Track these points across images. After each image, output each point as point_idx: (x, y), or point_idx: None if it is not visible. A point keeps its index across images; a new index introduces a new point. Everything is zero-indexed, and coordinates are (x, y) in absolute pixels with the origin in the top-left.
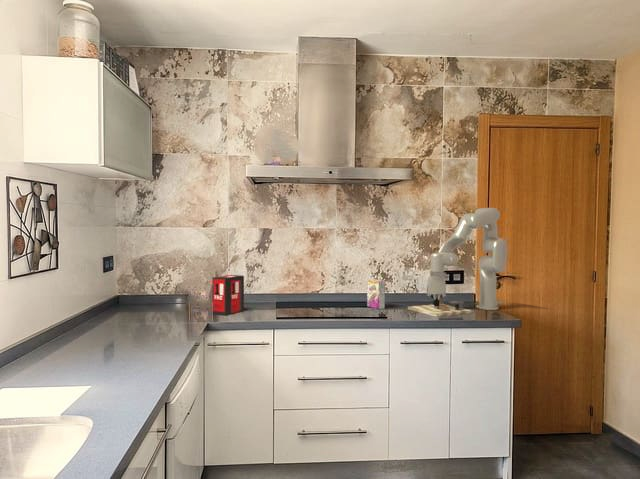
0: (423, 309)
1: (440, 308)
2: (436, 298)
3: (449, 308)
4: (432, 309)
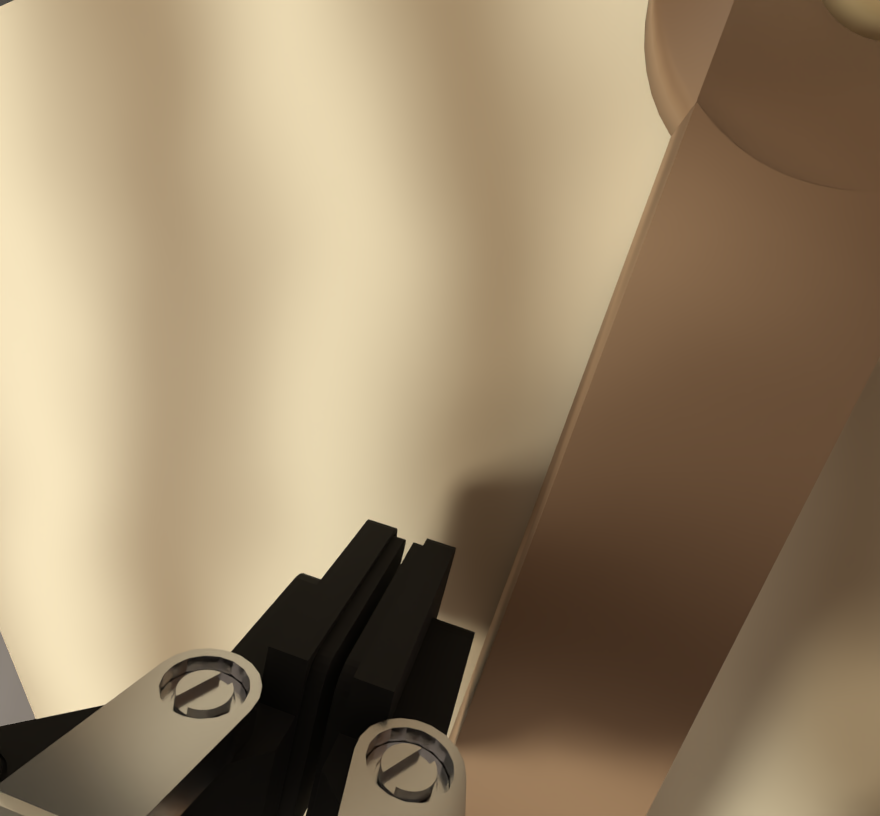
0: (61, 583)
1: None
2: (316, 796)
3: (864, 669)
4: None
